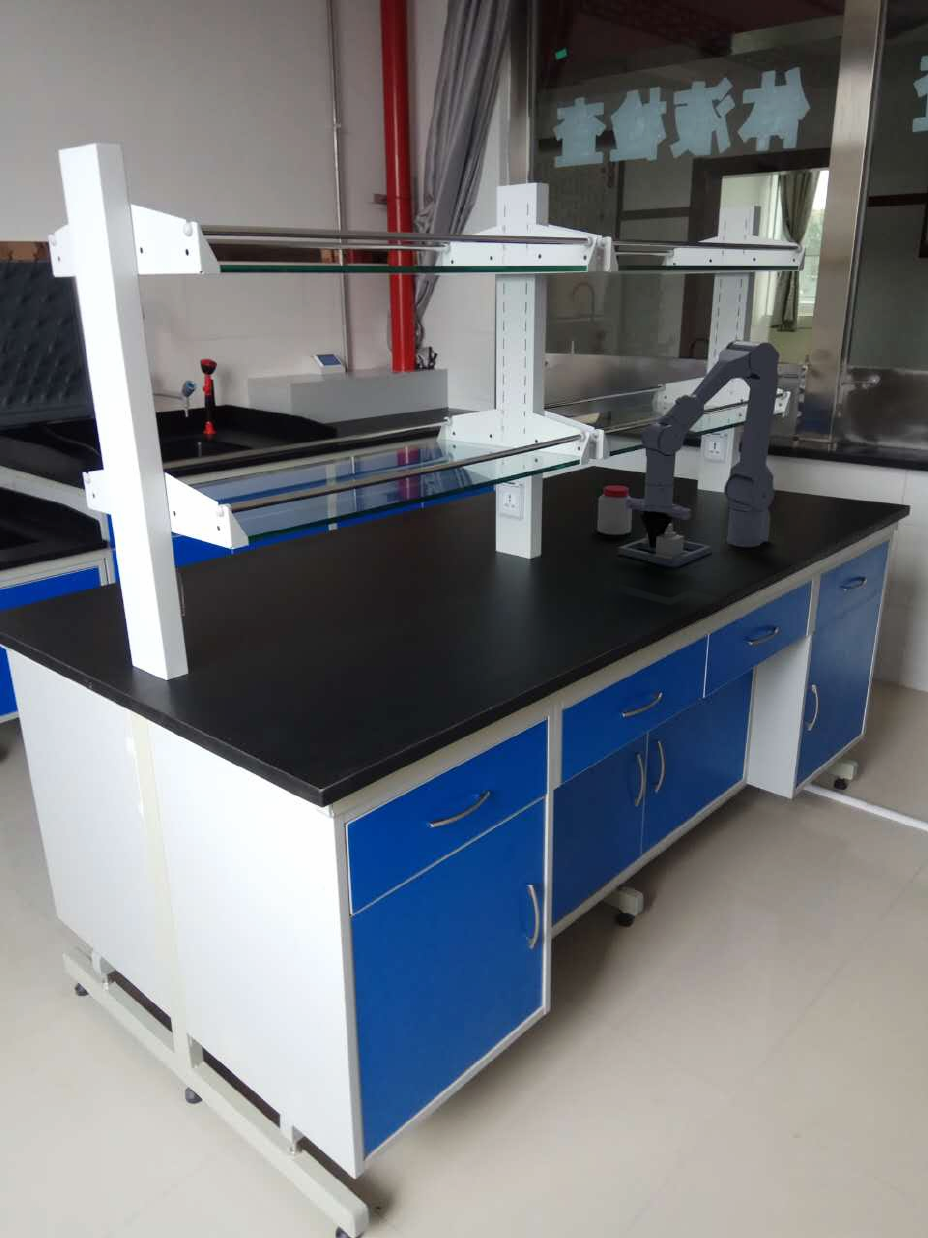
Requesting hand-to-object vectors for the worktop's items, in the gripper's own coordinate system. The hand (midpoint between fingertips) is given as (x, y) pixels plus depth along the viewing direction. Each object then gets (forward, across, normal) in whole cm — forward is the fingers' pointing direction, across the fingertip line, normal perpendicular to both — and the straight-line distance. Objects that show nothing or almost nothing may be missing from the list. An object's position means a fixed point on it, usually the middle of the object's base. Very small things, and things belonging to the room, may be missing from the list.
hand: (655, 546), depth 195 cm
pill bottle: (+3, -19, +11) cm, 22 cm away
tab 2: (+2, -3, +6) cm, 8 cm away
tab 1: (+2, +4, 0) cm, 4 cm away
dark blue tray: (+3, -2, +3) cm, 5 cm away
